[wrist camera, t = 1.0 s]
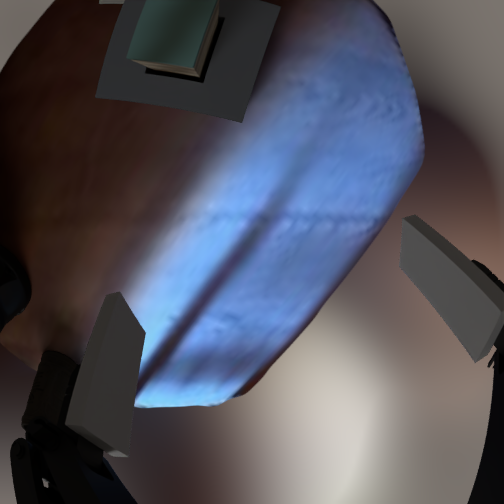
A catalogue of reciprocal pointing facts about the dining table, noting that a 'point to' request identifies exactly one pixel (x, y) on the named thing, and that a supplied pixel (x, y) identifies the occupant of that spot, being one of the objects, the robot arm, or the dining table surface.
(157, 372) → the dining table surface
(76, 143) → the dining table surface
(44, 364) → the beer stein
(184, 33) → the teal and tan block
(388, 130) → the dining table surface
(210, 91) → the block
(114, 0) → the coaster
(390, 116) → the dining table surface
